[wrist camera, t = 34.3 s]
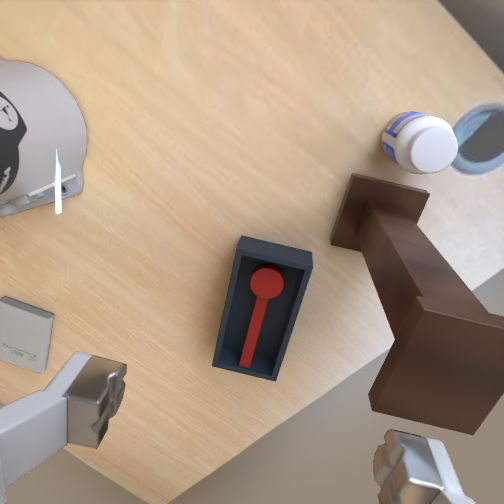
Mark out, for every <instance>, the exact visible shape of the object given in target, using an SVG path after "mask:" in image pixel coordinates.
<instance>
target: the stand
mask: <svg viewBox="0 0 504 504" xmlns="http://www.w3.org/2000/svg"><path fill="white" fill-rule="evenodd" d="M429 195H430V194H429V193H428V192H427V191H426V190H422V189H418V188H413V187H409V186H405V185H401V184H397V183H392V182H388V181H384V180H380V179H375V178H371V177H367V176H363V175H359V174H354V173H352V176H351V179H350V182H349V185H348V187H347V190H346V193H345V196H344V199H343V202H342V205H341V208H340V211H339V214H338V217H337V220H336V223H335V226H334V229H333V232H332V235H331V238H330V243H331V245H334V246H338V247H342V248H347V249H351V250H355V251H359V252H362V253H363V256H364V259H365V261H366V264H367V267H368V269H369V272H370V275H371V277H372V280H373V283H374V285H375V288H376V291H377V293H378V296H379V298H380V301H381V304H382V306H383V309H384V312H385V314H386V317H387V320H388V322H389V325H390V328H391V330H392V333H393V335H394V338H395V341H394V343H393V345H392V347H391V349H390V351H389V353H388V355H387V357H386V359H385V361H384V363H383V365H382V367H381V369H380V371H379V373H378V375H377V377H376V379H375V381H374V383H373V386H372V387H371V389H370V391H369V394H368V395H369V400H370V404H371V408H372V411H375V412H379V413H383V414H388V415H391V416H395V417H400V418H404V419H408V420H412V421H416V422H420V423H424V424H429V425H433V426H437V427H441V428H445V429H449V430H453V431H458V432H462V433H466V434H470V435H474V433H475V432H476V431H477V429H478V428H479V427H480V425H481V424H482V422H483V421H484V420H485V418H486V417H487V415H488V414H489V413H490V411H491V410H492V409H493V407H494V406H495V404H496V403H497V402H498V400H499V399H500V397H501V396H502V395H503V393H504V317H503V316H499V315H494V314H491V313H488V311H487V310H486V309H485V308H484V306H483V305H482V304H481V303H480V302H479V300H478V299H477V298H476V297H475V295H474V294H473V293H472V292H471V290H470V289H469V288H468V287H467V286H466V284H465V283H464V282H463V281H462V280H461V278H460V277H459V276H458V275H457V273H456V272H455V271H454V270H453V269H452V267H451V266H450V265H449V264H448V262H447V261H446V260H445V259H444V258H443V256H442V255H441V254H440V253H439V251H438V250H437V249H436V248H435V247H434V245H433V244H432V243H431V242H430V240H429V239H428V238H427V237H426V236H425V234H424V233H423V232H422V231H421V230H420V228H419V227H418V226H417V222H418V220H419V218H420V216H421V213H422V211H423V209H424V207H425V204H426V202H427V200H428V198H429Z"/></svg>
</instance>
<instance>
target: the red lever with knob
mask: <svg viewBox="0 0 504 504" xmlns="http://www.w3.org/2000/svg"><path fill="white" fill-rule="evenodd" d="M250 286H251V289H252V291H253V292H254V294H255V295H257V297H256V301H255V305H254V309H253V313H252V316H251V320H250V324H249V328H248V332H247V336H246V339H245V343H244V347H243V351H242V355H241V359H240V363H239V366H243V367H247V368H250V365H251V361H252V357H253V354H254V350H255V346H256V343H257V339H258V335H259V332H260V328H261V324H262V321H263V317H264V313H265V310H266V306H267V302H268V299H271V298H274V297H276V296H278V295H279V294H280V293H281V291H282V289H283V286H284V276H283V273H282V271H281V269H280V268H279V267H277V266H276V265H274V264H271V263H264V264H261V265H259V266H257V267H256V268H255V269H254V270H253V272H252V276H251V280H250Z"/></svg>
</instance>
